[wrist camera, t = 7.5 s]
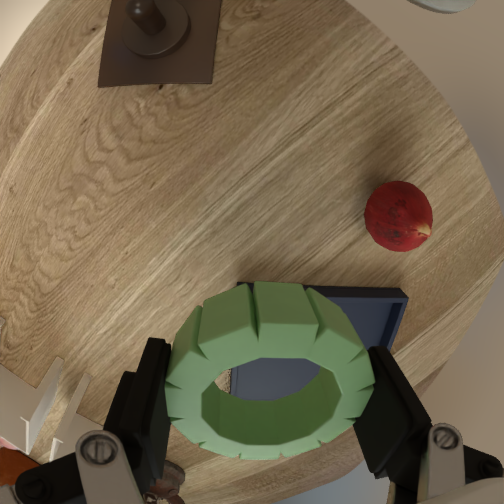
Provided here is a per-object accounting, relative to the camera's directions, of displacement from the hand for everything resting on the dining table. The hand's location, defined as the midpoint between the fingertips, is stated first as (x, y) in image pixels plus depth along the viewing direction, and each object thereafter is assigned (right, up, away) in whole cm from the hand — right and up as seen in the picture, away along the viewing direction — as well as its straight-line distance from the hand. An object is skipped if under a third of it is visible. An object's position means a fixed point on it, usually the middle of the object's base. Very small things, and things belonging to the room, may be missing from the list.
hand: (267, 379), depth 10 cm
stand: (-8, +23, +10) cm, 26 cm away
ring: (0, 0, +1) cm, 1 cm away
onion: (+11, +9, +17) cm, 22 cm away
